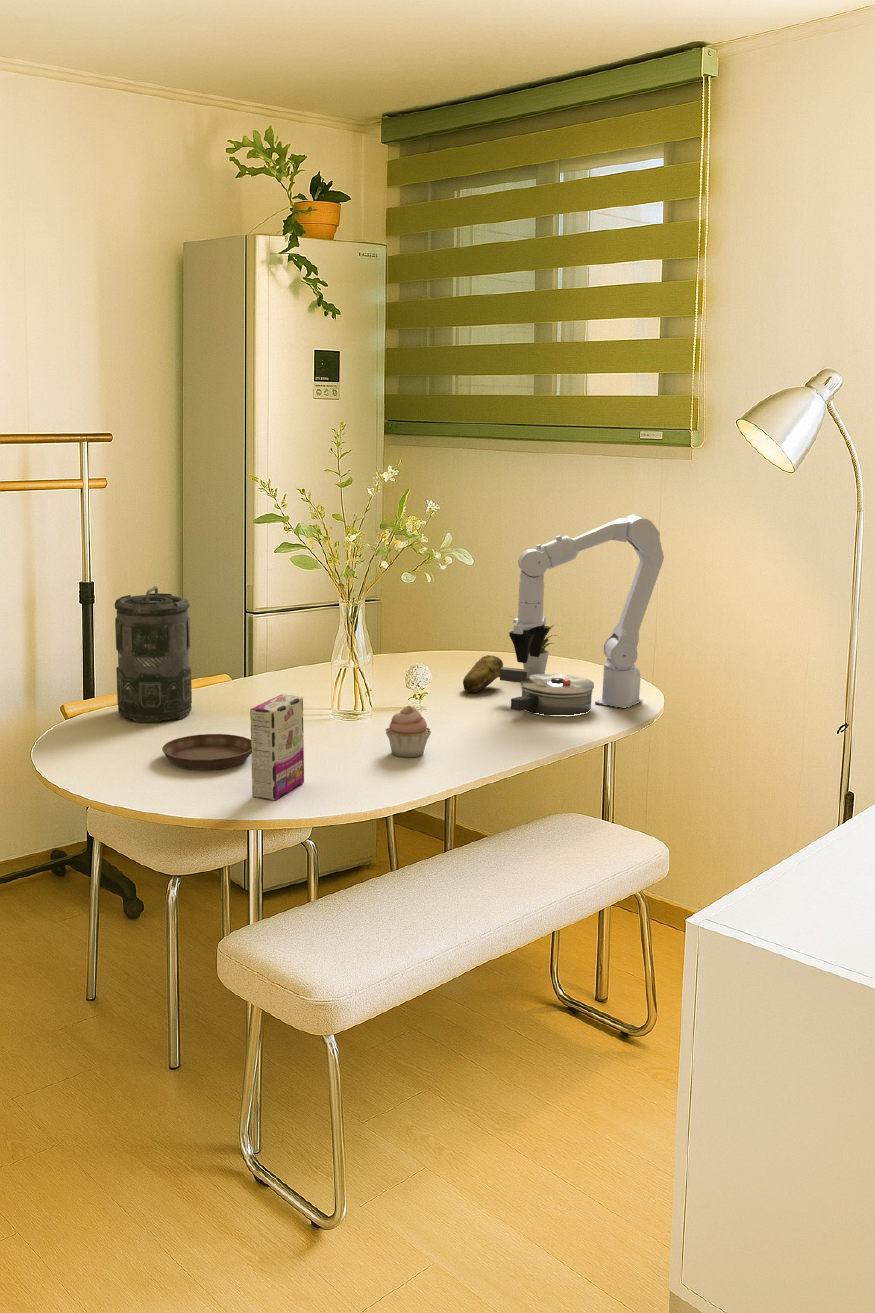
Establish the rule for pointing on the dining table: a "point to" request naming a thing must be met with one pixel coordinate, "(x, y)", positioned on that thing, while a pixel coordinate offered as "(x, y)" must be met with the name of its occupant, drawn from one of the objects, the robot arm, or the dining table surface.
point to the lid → (547, 681)
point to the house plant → (538, 659)
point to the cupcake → (408, 733)
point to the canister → (153, 657)
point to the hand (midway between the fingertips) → (528, 659)
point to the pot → (552, 703)
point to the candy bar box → (277, 747)
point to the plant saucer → (208, 751)
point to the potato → (482, 673)
